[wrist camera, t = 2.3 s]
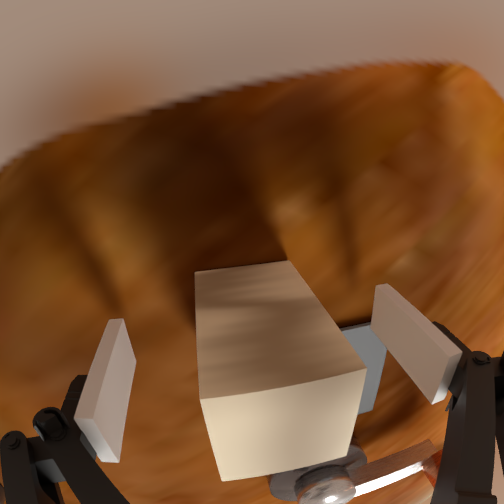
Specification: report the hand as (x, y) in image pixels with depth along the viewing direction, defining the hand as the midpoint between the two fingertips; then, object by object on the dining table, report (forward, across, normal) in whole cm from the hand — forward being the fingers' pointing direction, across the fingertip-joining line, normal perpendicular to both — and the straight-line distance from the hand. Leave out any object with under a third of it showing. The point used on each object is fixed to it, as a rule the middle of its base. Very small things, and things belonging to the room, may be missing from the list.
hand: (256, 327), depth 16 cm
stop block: (+2, 0, 0) cm, 2 cm away
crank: (0, +10, -18) cm, 21 cm away
